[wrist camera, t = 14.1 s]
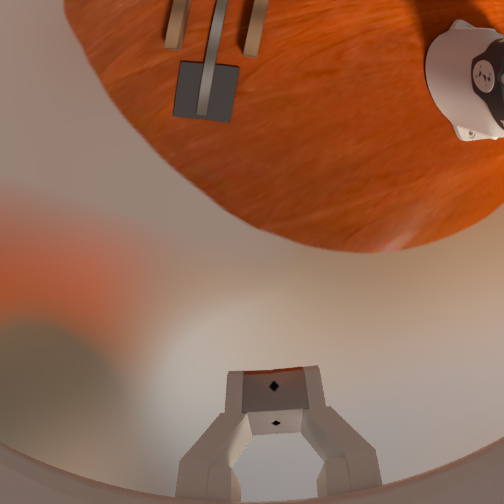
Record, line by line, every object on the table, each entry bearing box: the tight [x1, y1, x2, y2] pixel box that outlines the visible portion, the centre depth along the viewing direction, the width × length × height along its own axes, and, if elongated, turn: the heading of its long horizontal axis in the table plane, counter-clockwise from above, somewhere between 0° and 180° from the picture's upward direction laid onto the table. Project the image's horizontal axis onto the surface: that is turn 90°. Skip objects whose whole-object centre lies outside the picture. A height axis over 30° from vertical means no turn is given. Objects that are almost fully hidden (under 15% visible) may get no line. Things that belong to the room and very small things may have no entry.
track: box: [164, 0, 269, 115], centre depth 25 cm, size 28×10×2 cm, turn 170°
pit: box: [173, 62, 239, 123], centre depth 32 cm, size 7×7×1 cm
